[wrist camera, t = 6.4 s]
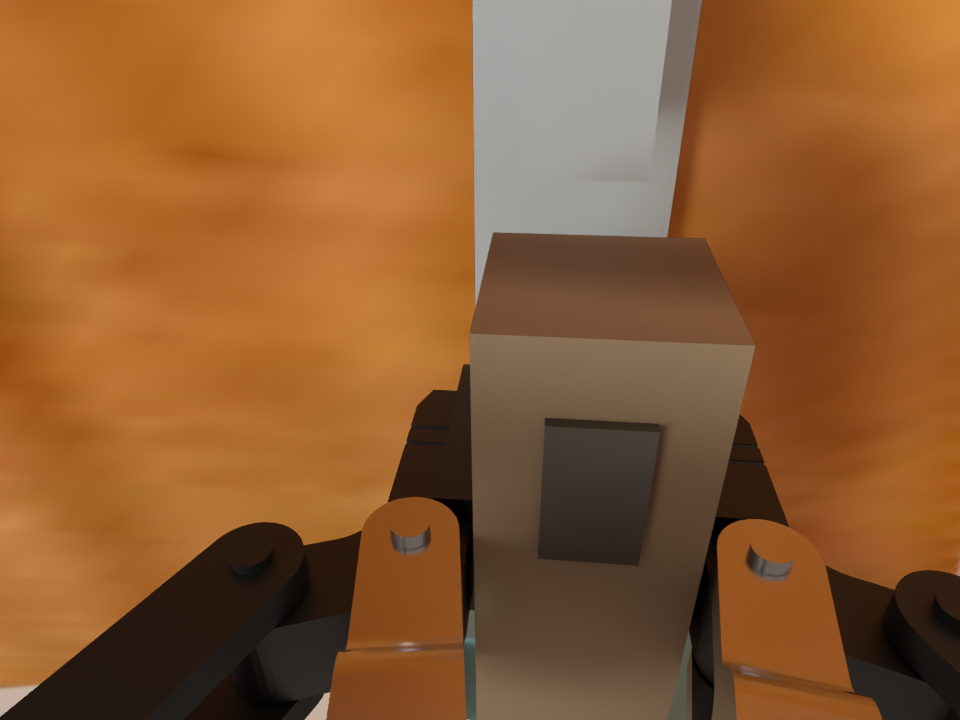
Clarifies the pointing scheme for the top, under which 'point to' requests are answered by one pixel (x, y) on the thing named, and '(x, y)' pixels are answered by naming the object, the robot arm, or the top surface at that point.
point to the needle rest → (578, 115)
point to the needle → (596, 466)
